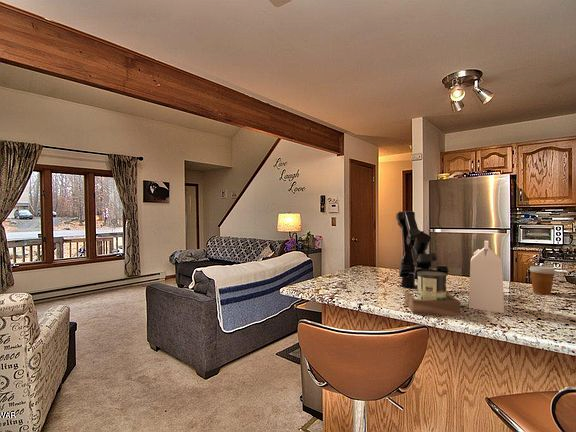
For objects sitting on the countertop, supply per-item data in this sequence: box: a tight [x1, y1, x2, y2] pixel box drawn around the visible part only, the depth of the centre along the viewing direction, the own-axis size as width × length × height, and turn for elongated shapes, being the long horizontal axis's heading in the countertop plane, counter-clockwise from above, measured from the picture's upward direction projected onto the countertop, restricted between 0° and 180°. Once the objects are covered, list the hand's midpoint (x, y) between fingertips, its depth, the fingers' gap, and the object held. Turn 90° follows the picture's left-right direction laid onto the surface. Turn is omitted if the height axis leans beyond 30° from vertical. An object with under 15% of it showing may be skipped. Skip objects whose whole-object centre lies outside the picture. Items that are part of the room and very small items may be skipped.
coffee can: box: [417, 271, 448, 300], centre depth 125 cm, size 10×10×14 cm
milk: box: [468, 240, 505, 314], centre depth 128 cm, size 12×12×26 cm
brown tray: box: [404, 290, 461, 317], centre depth 125 cm, size 14×16×5 cm
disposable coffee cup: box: [528, 265, 557, 296], centre depth 148 cm, size 10×10×12 cm
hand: (427, 289), depth 130 cm, fingers closed, pressing on coffee can
